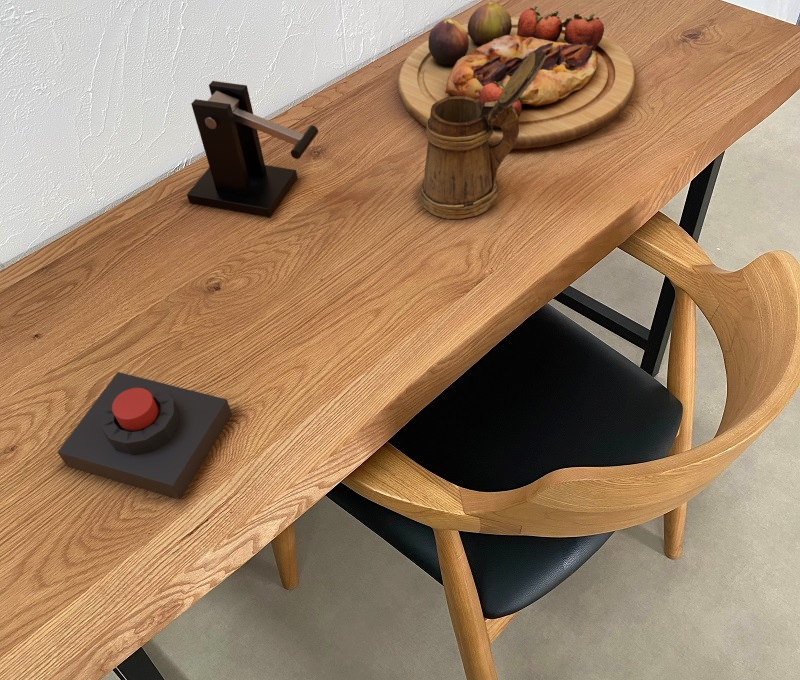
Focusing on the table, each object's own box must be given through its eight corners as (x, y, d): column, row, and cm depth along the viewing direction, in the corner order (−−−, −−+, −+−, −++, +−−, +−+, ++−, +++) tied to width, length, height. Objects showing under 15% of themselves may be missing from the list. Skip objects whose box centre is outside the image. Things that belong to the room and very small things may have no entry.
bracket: (298, 178, 99) (279, 81, 89) (270, 217, 94) (247, 120, 84) (220, 165, 102) (193, 70, 92) (189, 203, 97) (158, 107, 87)
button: (110, 425, 71) (103, 413, 69) (132, 396, 73) (125, 383, 71) (145, 435, 70) (138, 423, 68) (166, 404, 72) (160, 392, 70)
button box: (66, 466, 73) (48, 440, 70) (125, 386, 79) (111, 359, 75) (180, 499, 70) (166, 474, 67) (232, 413, 75) (222, 386, 72)
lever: (317, 140, 91) (319, 123, 89) (299, 165, 88) (301, 147, 87) (222, 102, 92) (222, 83, 90) (201, 125, 89) (200, 107, 87)
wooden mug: (531, 225, 90) (543, 75, 76) (414, 216, 93) (405, 69, 79) (538, 178, 96) (550, 30, 82) (427, 171, 98) (421, 26, 84)
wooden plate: (579, 180, 95) (587, 117, 89) (354, 119, 106) (347, 60, 100) (666, 55, 112) (678, -5, 105) (463, 15, 123) (463, -42, 117)
